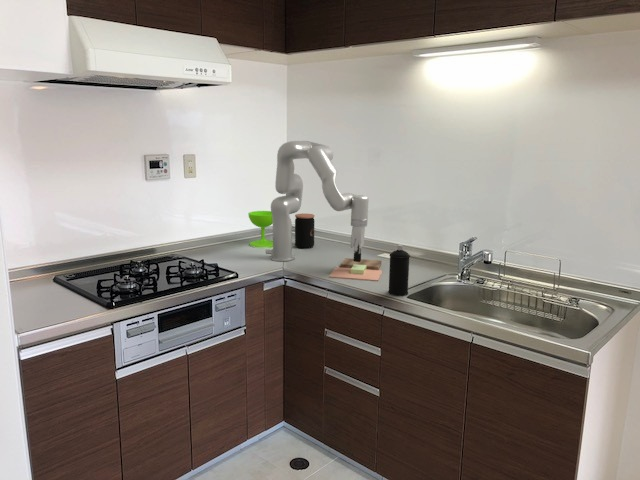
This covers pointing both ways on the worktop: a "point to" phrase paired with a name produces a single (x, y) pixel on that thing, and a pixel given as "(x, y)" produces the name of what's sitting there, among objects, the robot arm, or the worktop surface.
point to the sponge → (358, 269)
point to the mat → (346, 274)
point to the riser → (362, 263)
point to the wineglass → (262, 221)
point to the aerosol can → (399, 272)
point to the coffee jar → (304, 231)
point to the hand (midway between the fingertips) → (357, 261)
